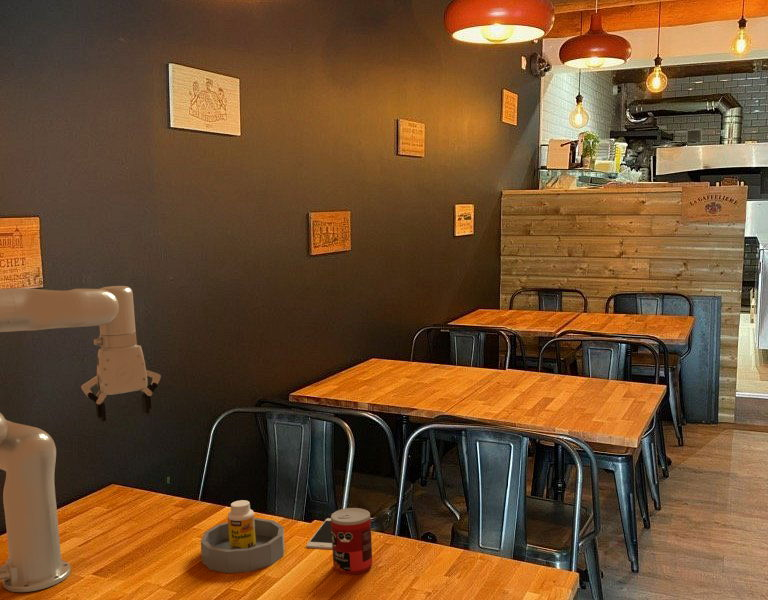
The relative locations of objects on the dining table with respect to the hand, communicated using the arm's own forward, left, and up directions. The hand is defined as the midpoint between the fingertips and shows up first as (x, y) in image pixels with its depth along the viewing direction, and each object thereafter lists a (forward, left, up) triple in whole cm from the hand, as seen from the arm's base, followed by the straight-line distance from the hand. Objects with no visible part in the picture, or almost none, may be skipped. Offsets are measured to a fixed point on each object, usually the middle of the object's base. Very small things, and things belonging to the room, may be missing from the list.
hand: (124, 416), depth 171 cm
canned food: (+31, -45, -28) cm, 62 cm away
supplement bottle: (+16, -25, -28) cm, 40 cm away
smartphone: (+36, -28, -29) cm, 54 cm away
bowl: (+16, -25, -28) cm, 41 cm away
